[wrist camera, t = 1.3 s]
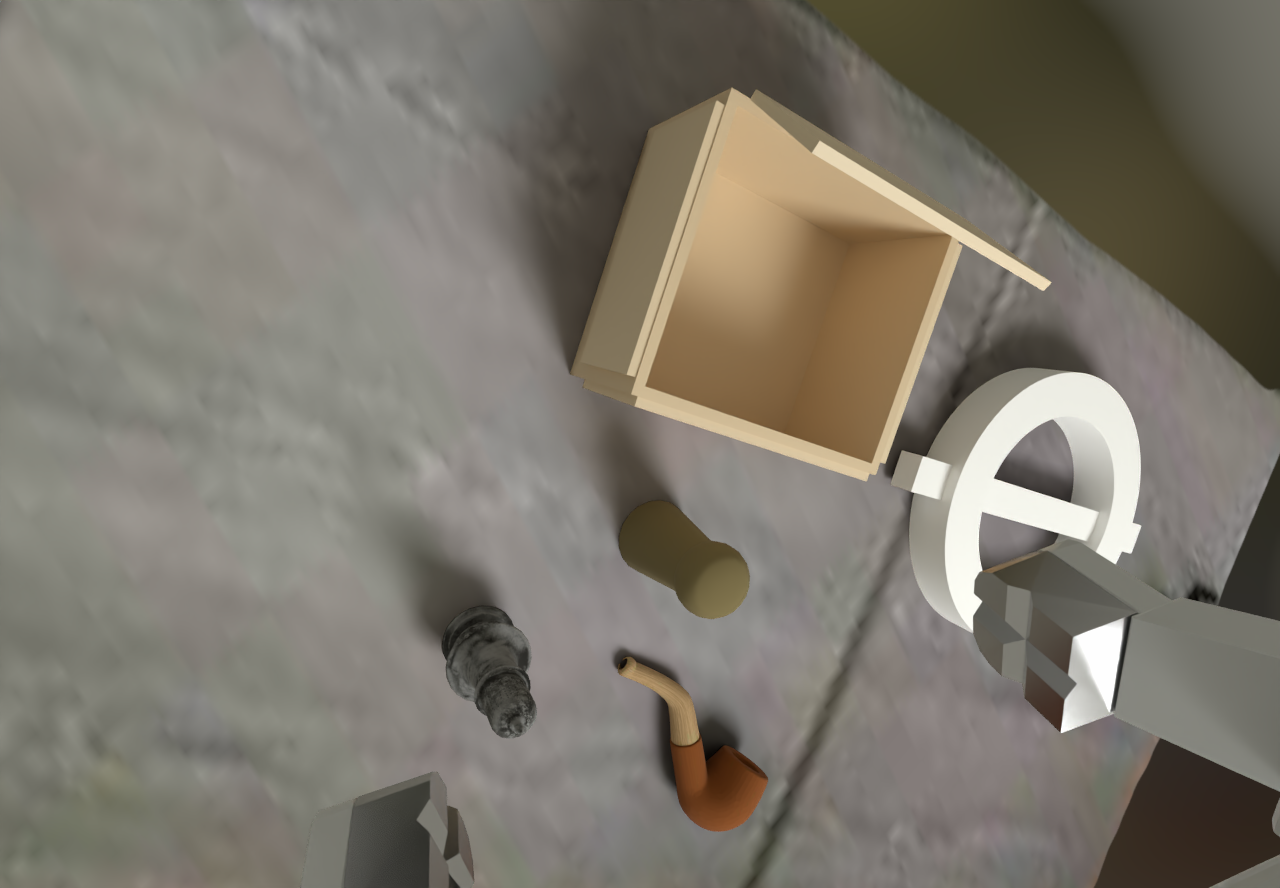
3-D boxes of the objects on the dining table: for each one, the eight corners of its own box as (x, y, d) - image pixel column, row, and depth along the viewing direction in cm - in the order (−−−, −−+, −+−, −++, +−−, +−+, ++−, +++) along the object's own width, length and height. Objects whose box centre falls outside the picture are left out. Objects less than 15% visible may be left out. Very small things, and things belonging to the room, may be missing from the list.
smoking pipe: (696, 815, 63) (729, 862, 58) (573, 704, 55) (599, 747, 50) (749, 756, 64) (787, 797, 59) (637, 639, 57) (668, 674, 51)
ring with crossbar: (872, 460, 64) (911, 472, 59) (1070, 318, 71) (1118, 320, 67) (946, 675, 74) (984, 698, 70) (1112, 532, 81) (1156, 545, 77)
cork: (683, 492, 55) (760, 534, 46) (690, 560, 57) (767, 616, 47) (613, 511, 53) (679, 560, 43) (623, 582, 55) (689, 645, 45)
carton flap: (959, 227, 47) (1043, 291, 40) (750, 99, 38) (811, 152, 32) (965, 219, 46) (1051, 282, 40) (755, 89, 38) (819, 140, 31)
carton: (785, 453, 59) (878, 485, 49) (559, 379, 49) (618, 401, 39) (858, 242, 58) (968, 231, 48) (641, 125, 48) (723, 82, 38)
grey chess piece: (422, 631, 49) (451, 726, 38) (497, 587, 50) (544, 666, 40) (461, 692, 51) (498, 798, 40) (531, 647, 53) (585, 738, 42)
